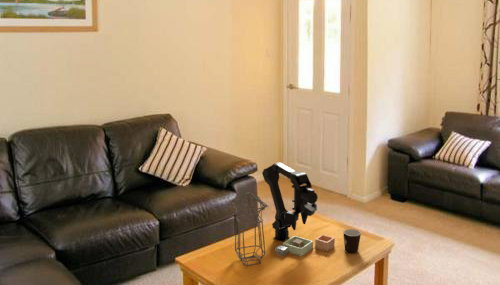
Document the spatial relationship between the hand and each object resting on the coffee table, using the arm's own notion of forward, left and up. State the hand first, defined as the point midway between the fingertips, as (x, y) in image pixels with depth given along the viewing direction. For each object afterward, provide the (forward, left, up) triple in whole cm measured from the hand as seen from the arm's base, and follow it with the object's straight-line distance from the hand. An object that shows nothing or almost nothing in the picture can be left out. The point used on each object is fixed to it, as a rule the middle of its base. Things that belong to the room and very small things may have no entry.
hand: (299, 226), depth 256 cm
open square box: (+10, +9, -12) cm, 18 cm away
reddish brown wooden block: (-4, -10, -12) cm, 16 cm away
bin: (0, -1, -12) cm, 12 cm away
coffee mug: (+22, +15, -12) cm, 29 cm away
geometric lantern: (-13, -25, -12) cm, 31 cm away
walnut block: (0, -1, -11) cm, 11 cm away
